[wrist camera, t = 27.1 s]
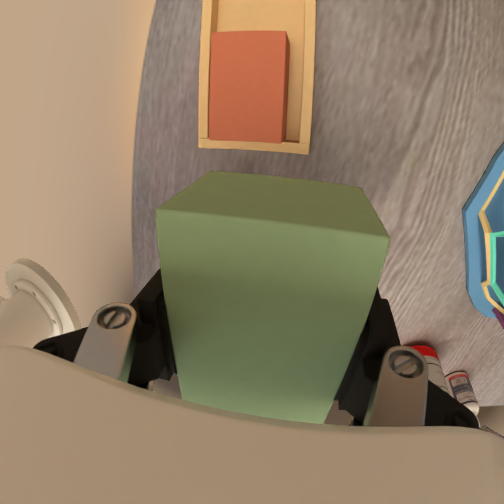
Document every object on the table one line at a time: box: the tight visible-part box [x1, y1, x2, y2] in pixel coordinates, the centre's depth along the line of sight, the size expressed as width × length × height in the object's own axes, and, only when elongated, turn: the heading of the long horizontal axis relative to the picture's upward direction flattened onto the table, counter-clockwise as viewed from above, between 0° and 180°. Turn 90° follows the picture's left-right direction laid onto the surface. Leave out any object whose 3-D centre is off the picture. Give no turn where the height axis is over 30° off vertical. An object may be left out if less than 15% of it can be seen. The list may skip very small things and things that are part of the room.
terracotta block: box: [209, 31, 290, 144], centre depth 19 cm, size 8×5×4 cm, turn 178°
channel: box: [198, 0, 316, 154], centre depth 18 cm, size 19×9×2 cm, turn 178°
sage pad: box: [155, 171, 390, 424], centre depth 9 cm, size 8×5×4 cm, turn 177°
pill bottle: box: [445, 372, 480, 427], centre depth 28 cm, size 5×5×9 cm
